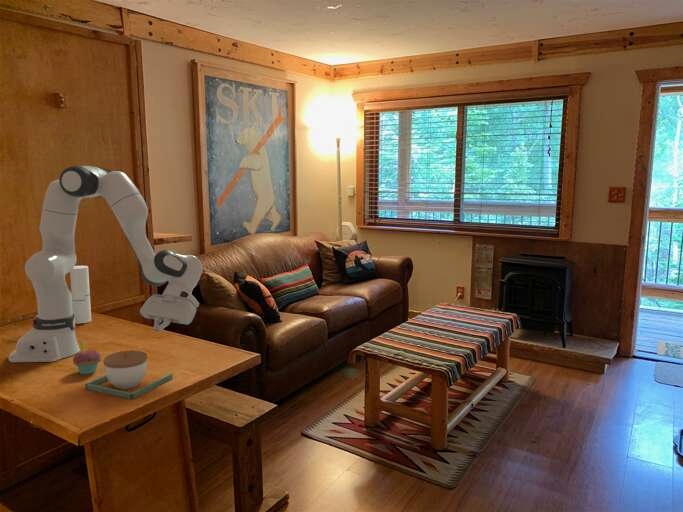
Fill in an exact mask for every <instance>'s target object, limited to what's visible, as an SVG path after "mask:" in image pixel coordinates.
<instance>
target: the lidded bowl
mask: <svg viewBox="0 0 683 512" xmlns="http://www.w3.org/2000/svg"><path fill="white" fill-rule="evenodd" d="M147 359H148V355H147V353H146V352H144V351H142V350H122V351H117V352H114V353H110V354H108V355H106V356H105V357H104V358H103V365H104V373H105V375H106V376H107V379H108V380H107V381H108V382H109V383H110V384H111V385H113V386H114V387H115V389H118V388H119V390H126V389H127V390H128V389H132V388H134V387H135V388H136V387H137V386H138V385H139V384H140V382H141V381H142V380H143V379H144V377H145V375H146V372H147V367H148V365H147V363H148V361H147Z"/></svg>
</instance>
